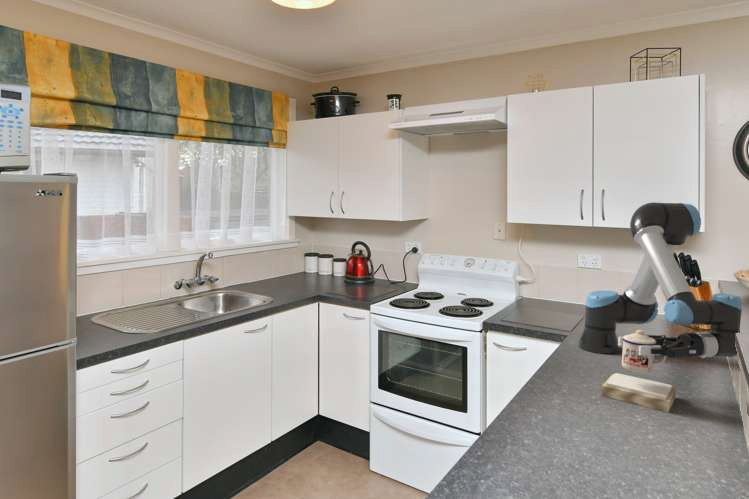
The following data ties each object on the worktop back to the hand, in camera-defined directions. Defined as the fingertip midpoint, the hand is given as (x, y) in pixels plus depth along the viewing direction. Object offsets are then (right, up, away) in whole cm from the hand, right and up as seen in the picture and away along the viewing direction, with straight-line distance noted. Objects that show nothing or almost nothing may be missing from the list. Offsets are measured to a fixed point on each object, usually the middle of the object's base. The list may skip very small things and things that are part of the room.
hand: (629, 345), depth 150 cm
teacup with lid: (+4, -7, 0) cm, 8 cm away
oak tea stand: (+4, -16, +2) cm, 17 cm away
